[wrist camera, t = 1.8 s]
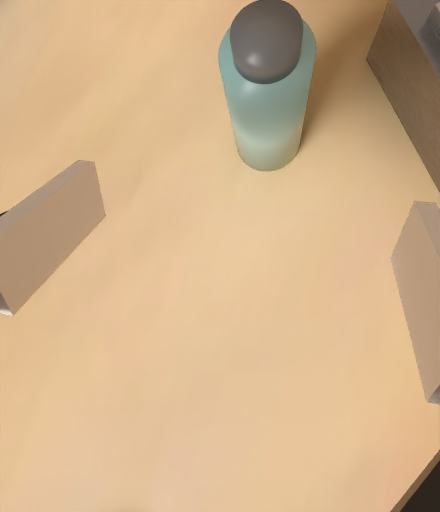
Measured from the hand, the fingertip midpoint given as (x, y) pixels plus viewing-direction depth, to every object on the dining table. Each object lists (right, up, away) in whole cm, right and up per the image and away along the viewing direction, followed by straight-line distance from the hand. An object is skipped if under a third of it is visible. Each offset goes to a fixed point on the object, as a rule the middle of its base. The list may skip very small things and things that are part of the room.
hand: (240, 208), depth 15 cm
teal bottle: (+3, +8, +14) cm, 16 cm away
